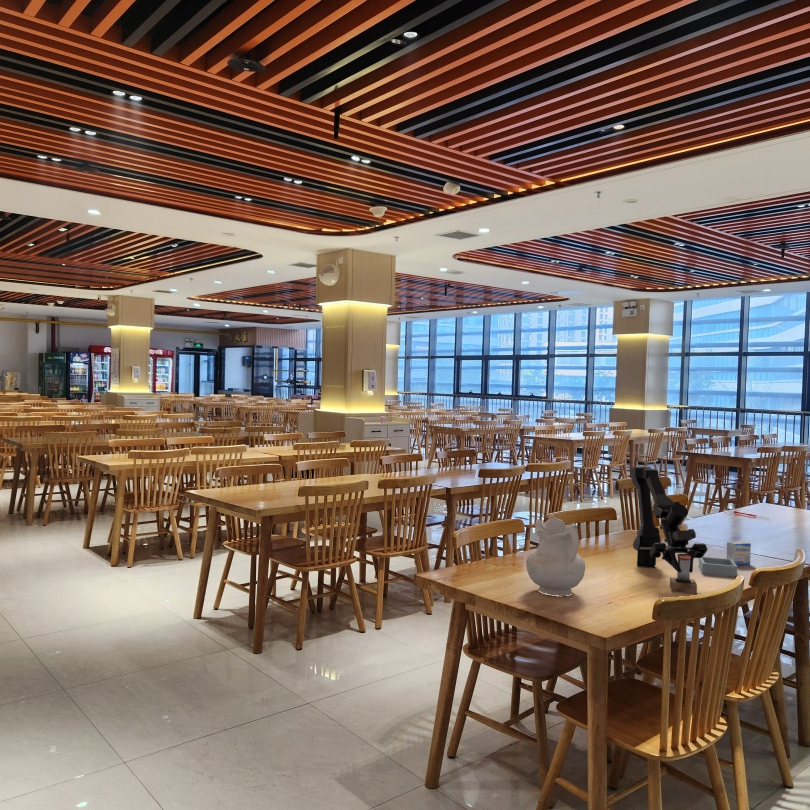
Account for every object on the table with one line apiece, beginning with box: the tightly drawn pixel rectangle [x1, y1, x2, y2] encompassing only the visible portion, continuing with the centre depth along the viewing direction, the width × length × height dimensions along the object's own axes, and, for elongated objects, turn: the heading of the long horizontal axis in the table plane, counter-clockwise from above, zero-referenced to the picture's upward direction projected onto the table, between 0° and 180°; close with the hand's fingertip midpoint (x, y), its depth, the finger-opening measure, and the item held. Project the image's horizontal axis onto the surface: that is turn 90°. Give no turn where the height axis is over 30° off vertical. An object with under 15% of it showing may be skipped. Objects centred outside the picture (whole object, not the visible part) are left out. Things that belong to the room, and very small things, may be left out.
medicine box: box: [726, 541, 752, 566], centre depth 282 cm, size 8×4×9 cm, turn 105°
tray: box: [697, 556, 738, 578], centre depth 268 cm, size 12×12×4 cm
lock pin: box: [676, 553, 691, 584], centre depth 242 cm, size 4×4×12 cm
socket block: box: [669, 576, 698, 595], centre depth 242 cm, size 8×8×3 cm
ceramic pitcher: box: [525, 516, 586, 596], centre depth 234 cm, size 22×20×25 cm
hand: (685, 571), depth 241 cm, fingers closed on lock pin, 4 cm apart
